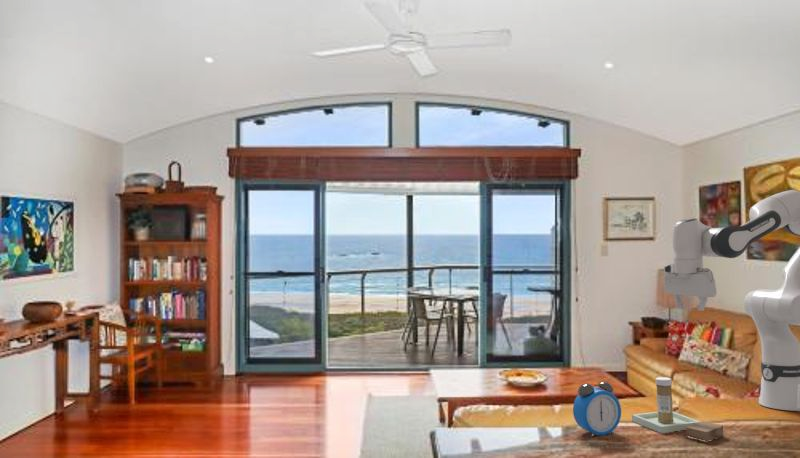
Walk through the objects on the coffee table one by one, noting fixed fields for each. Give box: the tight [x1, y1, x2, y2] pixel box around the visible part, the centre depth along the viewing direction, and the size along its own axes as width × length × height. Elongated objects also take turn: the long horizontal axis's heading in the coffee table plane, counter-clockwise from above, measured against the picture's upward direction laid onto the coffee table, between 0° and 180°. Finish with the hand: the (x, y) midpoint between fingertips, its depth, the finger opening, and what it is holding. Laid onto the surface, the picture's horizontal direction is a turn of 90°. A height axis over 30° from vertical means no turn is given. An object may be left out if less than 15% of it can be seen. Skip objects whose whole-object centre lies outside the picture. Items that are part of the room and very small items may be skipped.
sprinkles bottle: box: [655, 376, 674, 424], centre depth 189 cm, size 5×5×14 cm
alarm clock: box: [572, 381, 622, 436], centre depth 182 cm, size 13×6×15 cm, turn 107°
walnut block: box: [685, 420, 724, 441], centre depth 175 cm, size 9×6×3 cm, turn 125°
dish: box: [631, 411, 701, 434], centre depth 188 cm, size 14×14×2 cm
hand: (690, 309), depth 202 cm, fingers open, 8 cm apart
